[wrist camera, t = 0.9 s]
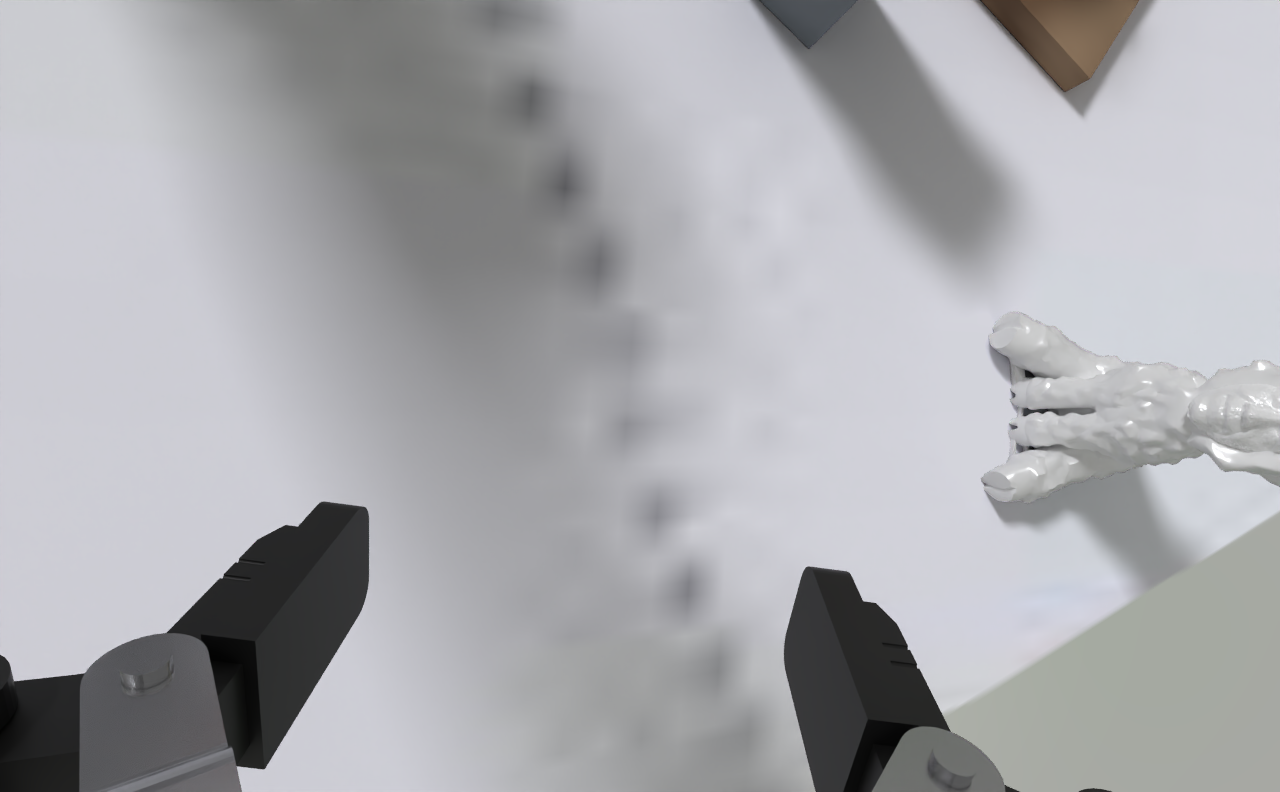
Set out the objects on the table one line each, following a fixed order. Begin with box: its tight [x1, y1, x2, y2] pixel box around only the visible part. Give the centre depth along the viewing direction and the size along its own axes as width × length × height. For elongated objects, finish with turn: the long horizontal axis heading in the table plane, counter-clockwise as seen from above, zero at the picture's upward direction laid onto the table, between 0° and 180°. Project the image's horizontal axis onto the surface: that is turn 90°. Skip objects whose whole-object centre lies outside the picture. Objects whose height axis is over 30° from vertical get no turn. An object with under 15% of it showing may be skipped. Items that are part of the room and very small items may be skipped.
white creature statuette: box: [981, 311, 1280, 503], centre depth 30 cm, size 10×9×12 cm
